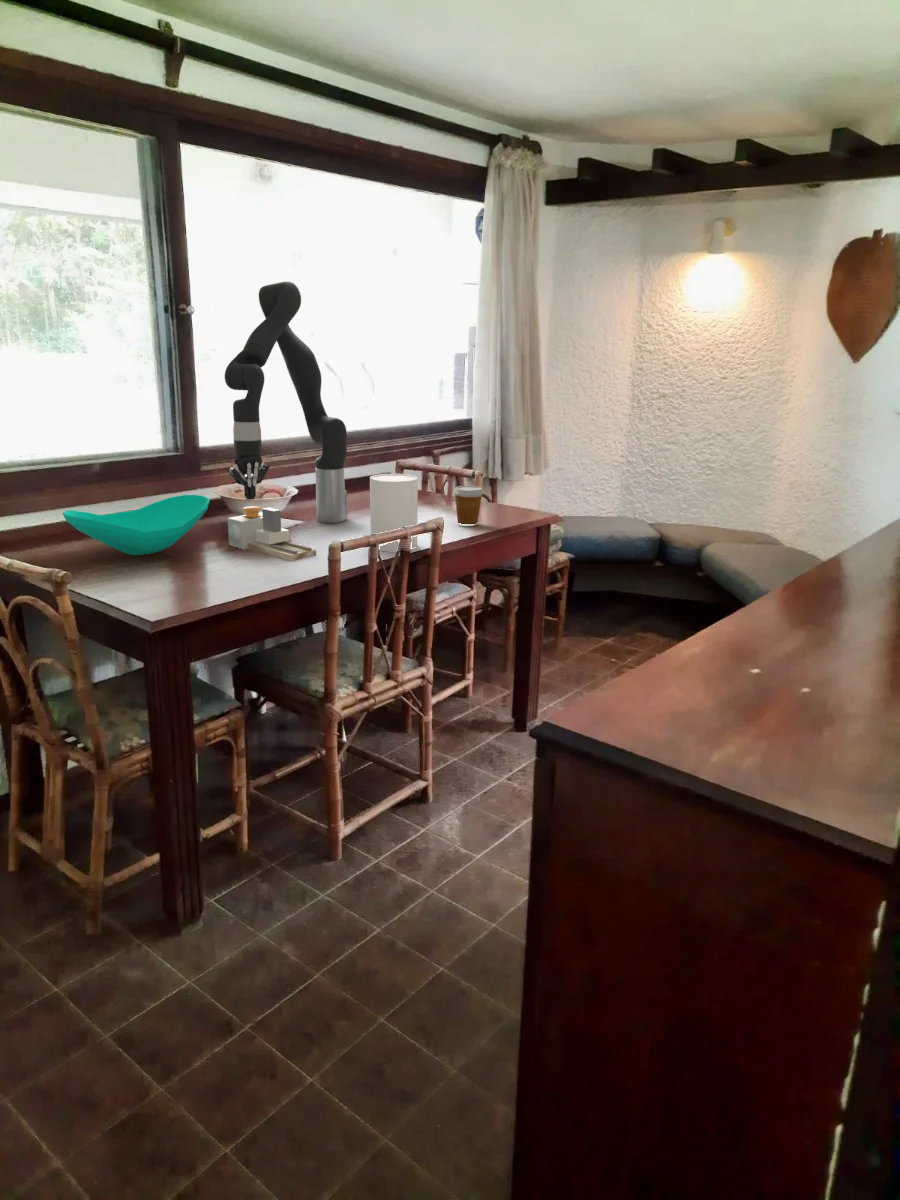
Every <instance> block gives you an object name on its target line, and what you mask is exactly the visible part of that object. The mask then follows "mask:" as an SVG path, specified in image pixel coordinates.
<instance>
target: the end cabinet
mask: <svg viewBox="0 0 900 1200" xmlns="http://www.w3.org/2000/svg"><path fill="white" fill-rule="evenodd" d="M258 513H259V518H254V519H248V518H246V514H243V515H236V516H231V517H226V518H227V519H226V520H227V534H228V545H229V546H230V545H231V546H230V547H235V548H237V547H238V548H237V549H240V548H241V550H249V549H248V543H253V541H252V540H254V539H256V530H261V529H263V513H262V511H258Z"/></svg>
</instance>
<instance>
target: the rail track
mask: <svg viewBox="0 0 900 1200" xmlns="http://www.w3.org/2000/svg"><path fill="white" fill-rule="evenodd" d="M252 541H253V543H248V549H247V550H251V549H252V551H255V552H258V551H259V553H262V552H263V553H262V554H265V553H266V555H270V556H273V557H275V558H279V559H282V558H283V560H286V559H287V560H286V561H289V560H290V561H291V560H292V561H296V559H297V560H301V559H304V558H303V557H305V558H309V557H312V555H314V556H316V555H317V549H316V548H312V547H310V546H306V545H303V544H300V543H295V542H292V541H284V542H279V543H275V544H270V545H269V544H265V543H262V542H258V541H256V539H254V540H252ZM308 556H309V557H308ZM300 558H301V559H300ZM292 561H291V562H292Z"/></svg>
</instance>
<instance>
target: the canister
mask: <svg viewBox="0 0 900 1200" xmlns="http://www.w3.org/2000/svg"><path fill="white" fill-rule="evenodd" d="M418 479H419V478H418V476H416V475H413V474H407V473H406V474H405V473H381V474H374V475H371V476H369V503H370V504H369V505H370V506H369V511H370V513H369V515H370V516H369V519H370V521H369V522H370V527H369V528H370V535H371V534H373V533H380V532H385V531H390V530H394V529H398V528H401V527H405V526H410V525H416V524H417V525H418V490H419V489H418V488H419V487H418V482H419V481H418ZM411 542H412V548H414V547H416V546H417V547H418V535H417V536H416V537H412V539H411ZM398 544H399V543H398V541H395V542H392V543H388V544H386V545H383V546H380V552H390V553H397V552H396V550H397V547H398Z"/></svg>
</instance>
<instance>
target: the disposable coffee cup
mask: <svg viewBox="0 0 900 1200" xmlns="http://www.w3.org/2000/svg"><path fill="white" fill-rule="evenodd" d="M453 494H454V496H455V497H454V498H455V507H456V518H457V524H458V523H461V524H476V523H477V522H478V521H479V515H480V510H481V509H480V508H481V502H482V496H483V494H484V492H483V488H482V487H480V486H478V485H477V486H476V485H459V486H456V487H454V490H453ZM477 524H478V523H477Z"/></svg>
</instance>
